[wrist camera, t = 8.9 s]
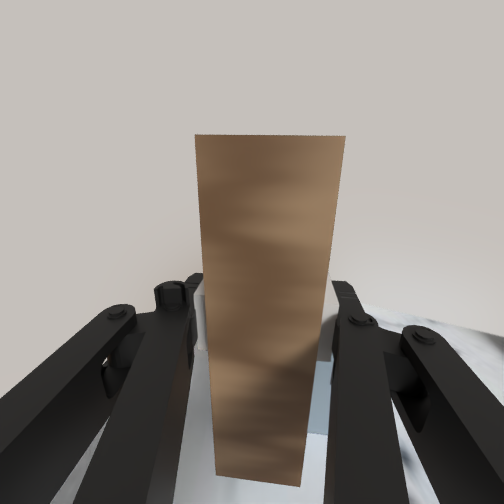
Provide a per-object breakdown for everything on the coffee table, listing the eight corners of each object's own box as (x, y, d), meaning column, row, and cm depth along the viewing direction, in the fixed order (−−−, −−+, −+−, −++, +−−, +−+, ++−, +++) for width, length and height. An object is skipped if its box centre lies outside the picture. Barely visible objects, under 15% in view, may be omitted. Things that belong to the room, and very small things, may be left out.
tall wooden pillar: (296, 408, 16) (324, 139, 11) (300, 487, 12) (345, 136, 7) (231, 401, 17) (224, 138, 11) (215, 475, 13) (194, 134, 7)
